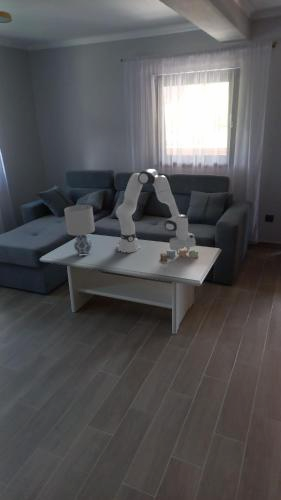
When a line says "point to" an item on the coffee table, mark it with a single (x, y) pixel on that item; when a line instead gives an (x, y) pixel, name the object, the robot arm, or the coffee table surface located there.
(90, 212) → the lamp
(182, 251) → the terracotta brick
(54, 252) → the coffee table surface
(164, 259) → the walnut brick
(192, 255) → the olive brick
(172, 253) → the slate blue brick
